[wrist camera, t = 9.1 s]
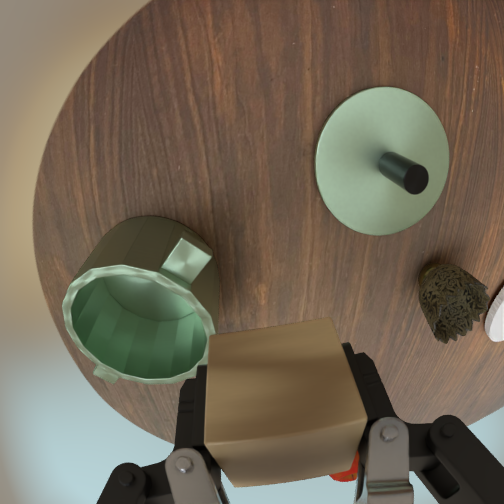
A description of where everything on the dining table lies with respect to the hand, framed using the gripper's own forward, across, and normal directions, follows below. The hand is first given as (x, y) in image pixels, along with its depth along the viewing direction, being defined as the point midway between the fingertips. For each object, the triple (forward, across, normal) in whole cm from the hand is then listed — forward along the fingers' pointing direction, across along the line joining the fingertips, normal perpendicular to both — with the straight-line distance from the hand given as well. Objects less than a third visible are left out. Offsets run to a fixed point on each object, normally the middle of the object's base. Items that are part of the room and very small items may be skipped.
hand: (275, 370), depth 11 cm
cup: (+18, -19, +11) cm, 28 cm away
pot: (+18, +10, +5) cm, 21 cm away
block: (0, 0, 0) cm, 0 cm away
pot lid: (+17, -13, -3) cm, 21 cm away
